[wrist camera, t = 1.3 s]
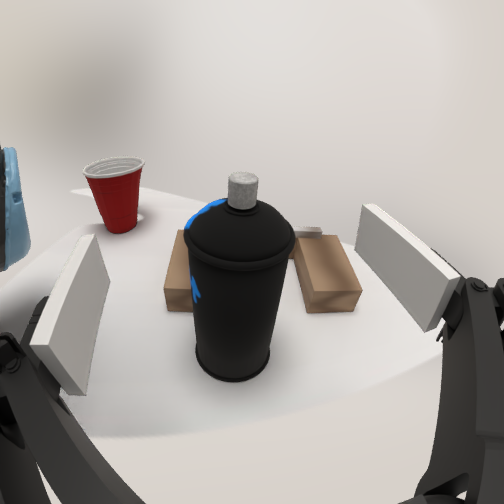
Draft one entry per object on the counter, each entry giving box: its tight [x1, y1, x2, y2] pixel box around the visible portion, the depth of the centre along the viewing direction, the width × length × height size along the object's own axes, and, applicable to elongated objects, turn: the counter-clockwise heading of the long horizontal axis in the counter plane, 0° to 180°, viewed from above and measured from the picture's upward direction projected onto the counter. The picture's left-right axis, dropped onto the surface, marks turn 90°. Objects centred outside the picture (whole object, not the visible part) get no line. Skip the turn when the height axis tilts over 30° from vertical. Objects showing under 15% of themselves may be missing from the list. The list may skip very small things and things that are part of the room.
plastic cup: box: [83, 156, 145, 233], centre depth 45 cm, size 11×11×12 cm
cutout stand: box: [164, 226, 363, 313], centre depth 39 cm, size 24×12×5 cm, turn 93°
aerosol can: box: [183, 172, 296, 382], centre depth 25 cm, size 8×8×20 cm
